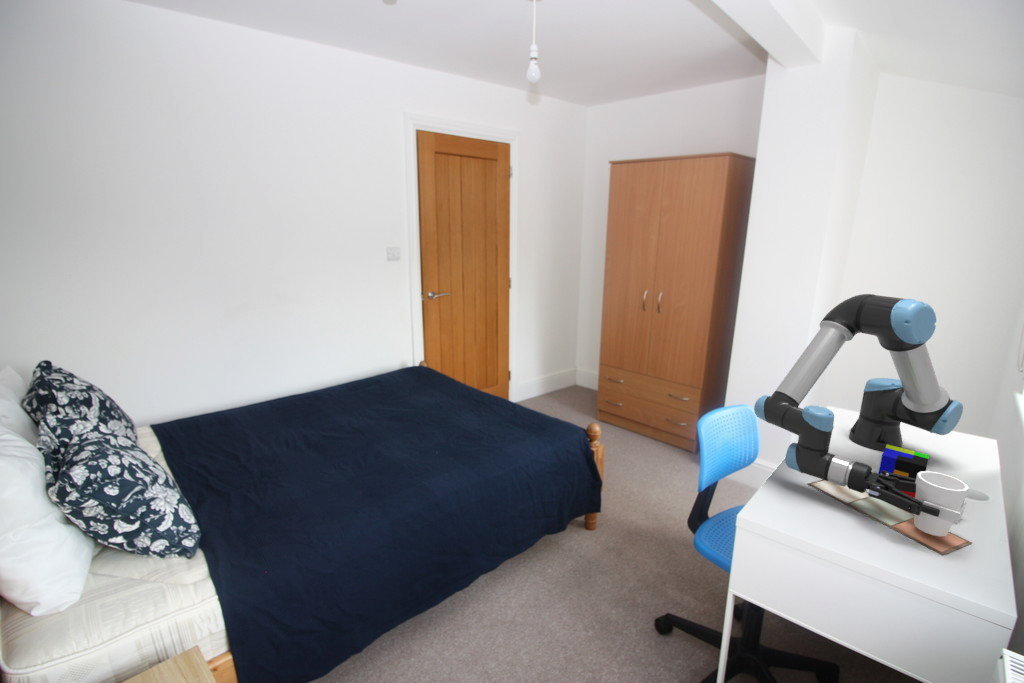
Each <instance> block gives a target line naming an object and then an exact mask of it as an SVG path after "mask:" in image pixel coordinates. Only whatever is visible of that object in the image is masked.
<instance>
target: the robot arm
mask: <svg viewBox="0 0 1024 683" xmlns="http://www.w3.org/2000/svg"><path fill="white" fill-rule="evenodd" d="M936 323H937V316H936V312H935V310H934V309H933V307H932V306H931V305H929V304H928V303H926V302H925V301H920V300H915V299H912V298H903V297H901V298H900V297H894V296H886V295H885V296H884V295H878V294H871V293H863V294H858V295H854V296H852V297H849V298H847V299H845V300H843V301H841V302H839V303H838V304H837V305H836V306H834V307H833V308H832V309H831V310H830V311H829V312H828V313H826V314H825V316H824V317H823V318H822V320H821V321H820V322H819V327H820V329H819V330H818V332H817V333H816V334H815V336H814V337H813V339H812V340H810V342H809V344H808V345H807V347H806V348H805V349H804V350H803V352H802V353H801V355H800V356H799V358H798V359H797V360H796V362H795V363H794V364H793V366H792V367H791V369H790V370H789V371H788V373H786V376H784V378H783V380H782V381H781V382H780V384H779V385H778V386H777V388H776V389H775V391H773V393H772V395H767V394H764V395H762V396H760V397H758V398H757V399H756V401H755V404H754V408H753V411H754V414H755V416H756V417H757V418H759V419H760V420H763V421H765V422H766V423H768V424H771V425H772V426H776V427H778V428H781V429H784V430H786V431H787V432H789V433H792V434H795V435H797V436H798V439H797V443H796V442H792V443H790V444H789V445H788V448H787V450H786V454H785V458H784V463H785V465H786V466H787V467H788V468H790V469H792V470H794V471H797V472H799V473H801V474H805V475H809V476H811V477H814V478H818V479H819V480H826V481H829V482H832V483H834V485H837V484H838V485H841V486H843V487H845V486H846V485H847V486H848V488H849V489H852V490H855V491H857V492H860V493H864V492H865V491H866V492H867V490H868V493H869V494H868V495H869V496H870V497H873V498H877V499H880V500H882V501H884V502H887V503H889V504H891V505H893V506H896V507H898V508H900V509H903V510H905V511H907V512H909V513H912V514H915V515H920V512H923V513H926V514H928V515H931V516H934V517H937V518H940V519H943V520H946V521H949V522H952V523H953V524H955V525H958V522H959V520H960V519H959V516H960V512H957V511H954V510H951V509H948V508H945V507H942V506H939V505H936V504H933V503H929V502H926V501H924V503H922V502H921V501H919V500H917V499H915V498H913V497H911V496H909V495H907V494H905V493H903V492H902V491H906V492H912V493H916V483H915V481H916V479H915V478H911V477H906V476H902V475H898V474H893V473H890V472H887V471H884V470H882V471H881V474H878V473H876V472H873V471H872V466H870V465H869V464H865V463H863V462H858V461H853V460H852V459H851V458H847V457H843V456H840V455H838V454H837V455H836V454H832V453H831V452H829V449H830V445H831V444H830V443H831V440H832V436H833V430H834V424H835V413H834V412H833V411H832V410H831V409H829V408H827V407H824V406H819V405H813V404H812V405H806V406H805V407H803V408H801V407H800V405H801V403H802V402H803V400H805V398H806V397H807V395H808V394H809V393H810V392H811V390H812V388H813V386H814V385H815V384H816V383H817V382H818V380H819V379H820V377H821V376H822V374H823V373H824V372H825V370H826V369H827V368H828V366H829V365H830V364H831V362H832V361H833V360H834V358H835V357H836V356H837V354H838V353H839V351H840V350H841V348H842V347H843V346H844V345H845V343H846V342H849V341H852V340H853V338H854V337H855V336H856V335H857V334H860V333H861V334H865V335H870V336H875V337H877V340H878V343H879V345H880V346H881V347H882V348H883V350H886V351H889V354H890V356H891V359H892V361H893V365H894V367H895V370H896V373H897V375H898V378H899V379H898V378H888V377H887V378H885V377H875V378H870V379H868V380H867V381H866V383H865V386H864V389H863V394H862V400H861V405H860V411H859V414H858V418H857V419H856V421H855V422H854V424H853V426H852V427H851V428H850V431H849V434H848V438H849V439H850V440H851V442H854V443H855V444H858V445H860V446H863V447H865V448H867V449H872V450H876V451H881V452H884V450H885V447H886V445H887V444H888V445H892V446H896V447H900V448H902V447H903V437H902V436H903V435H902V432H901V431H902V430H901V423H903V424H905V425H909V426H911V427H915V428H916V429H919V430H924V431H926V432H929V433H930V434H936V435H938V436H945V435H948V434H950V433H951V432H952V431H953V430H955V428H956V427H957V425H958V424H959V422H960V420H961V417H962V415H963V412H964V411H963V410H964V405H963V403H962V402H961V401H958V400H956V399H951V398H950V395H949V393H948V391H947V390H946V389H945V388H944V387H943V386H941V385H940V384H939V382H938V381H939V380H938V379H937V376H936V372H935V370H934V366H933V363H932V360H931V357H930V353H929V351H928V347H927V345H926V343H927V342H928V341H929V340H930V339H931V338H932V337H933V335H934V334H935V331H936V330H935V329H936V327H937V326H936ZM964 501H966V498H965V499H964ZM964 501H963V503H962V505H961V508H963V504H964Z"/></svg>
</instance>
